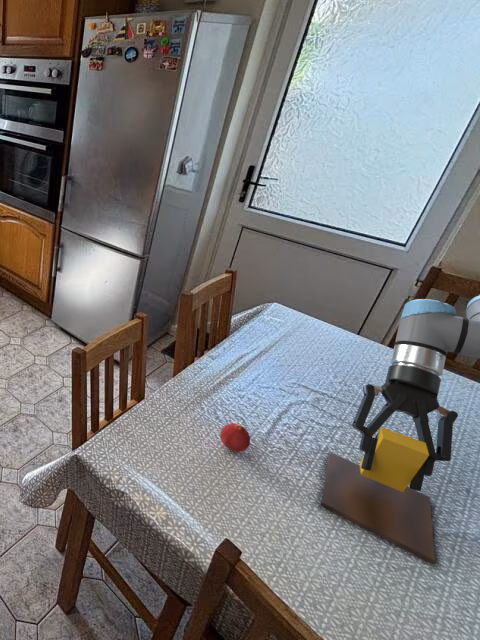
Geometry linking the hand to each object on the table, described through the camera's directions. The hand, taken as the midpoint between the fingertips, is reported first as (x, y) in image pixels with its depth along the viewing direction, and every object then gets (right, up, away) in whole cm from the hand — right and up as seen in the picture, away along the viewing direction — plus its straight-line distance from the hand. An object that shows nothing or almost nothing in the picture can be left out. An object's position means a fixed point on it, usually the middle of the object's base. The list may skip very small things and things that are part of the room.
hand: (389, 478), depth 82 cm
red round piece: (-22, -1, +15) cm, 27 cm away
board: (-1, -6, +2) cm, 7 cm away
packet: (+2, -2, +4) cm, 5 cm away
